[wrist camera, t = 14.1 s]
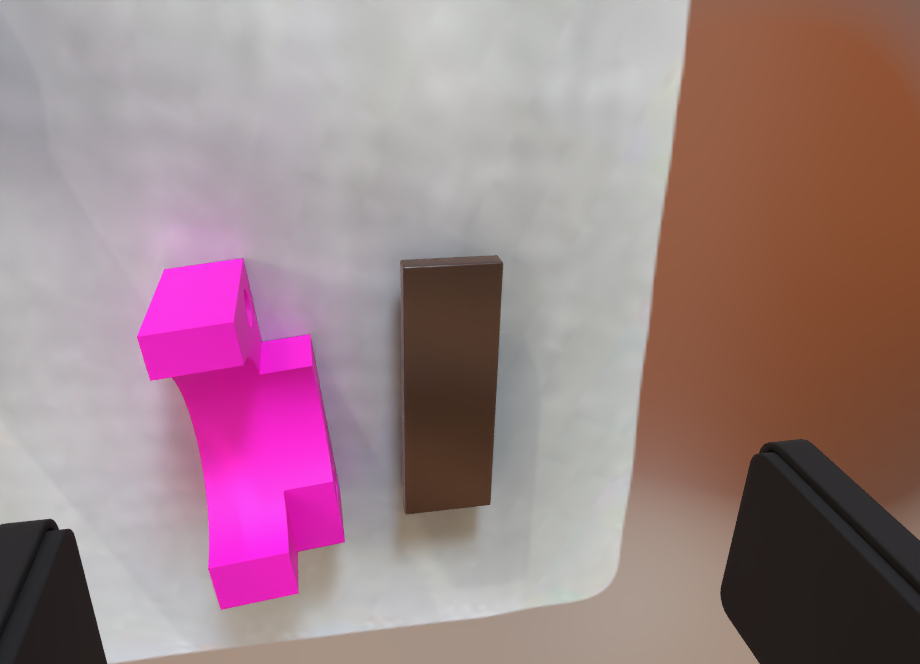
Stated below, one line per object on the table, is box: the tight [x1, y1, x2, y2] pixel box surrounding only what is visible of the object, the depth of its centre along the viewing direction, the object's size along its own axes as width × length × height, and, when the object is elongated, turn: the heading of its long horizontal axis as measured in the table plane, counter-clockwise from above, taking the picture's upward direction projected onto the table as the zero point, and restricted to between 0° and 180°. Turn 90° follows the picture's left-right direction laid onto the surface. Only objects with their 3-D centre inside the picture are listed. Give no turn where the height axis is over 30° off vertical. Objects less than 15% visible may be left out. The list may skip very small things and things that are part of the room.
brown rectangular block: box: [400, 255, 503, 514], centre depth 41 cm, size 15×5×3 cm, turn 179°
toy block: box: [137, 258, 345, 610], centre depth 37 cm, size 15×6×8 cm, turn 5°
